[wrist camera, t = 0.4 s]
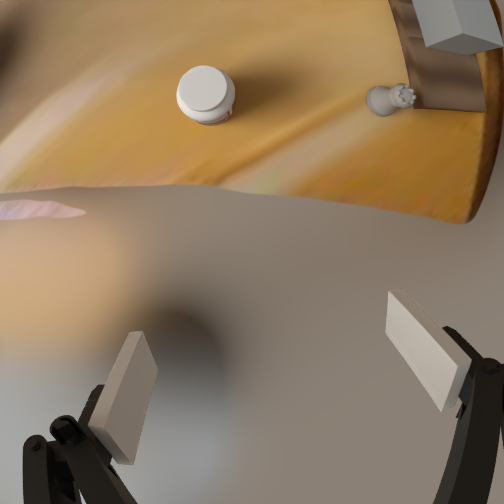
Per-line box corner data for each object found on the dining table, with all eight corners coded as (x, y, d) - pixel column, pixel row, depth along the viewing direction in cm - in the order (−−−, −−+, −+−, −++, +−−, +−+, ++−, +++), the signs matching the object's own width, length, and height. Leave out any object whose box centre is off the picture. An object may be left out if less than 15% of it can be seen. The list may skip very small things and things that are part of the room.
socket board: (386, -7, 30) (394, -14, 27) (451, 8, 30) (460, 4, 27) (414, 108, 37) (424, 107, 34) (475, 112, 37) (486, 112, 34)
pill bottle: (203, 73, 34) (192, 47, 24) (244, 95, 36) (248, 75, 25) (178, 112, 36) (158, 100, 25) (219, 134, 37) (213, 129, 27)
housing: (410, -3, 28) (442, -24, 19) (452, 8, 28) (485, -7, 19) (425, 47, 31) (462, 33, 22) (467, 55, 31) (503, 46, 22)
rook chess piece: (374, 121, 37) (402, 118, 30) (359, 93, 36) (385, 83, 29) (397, 110, 37) (427, 105, 29) (383, 82, 36) (412, 72, 28)
